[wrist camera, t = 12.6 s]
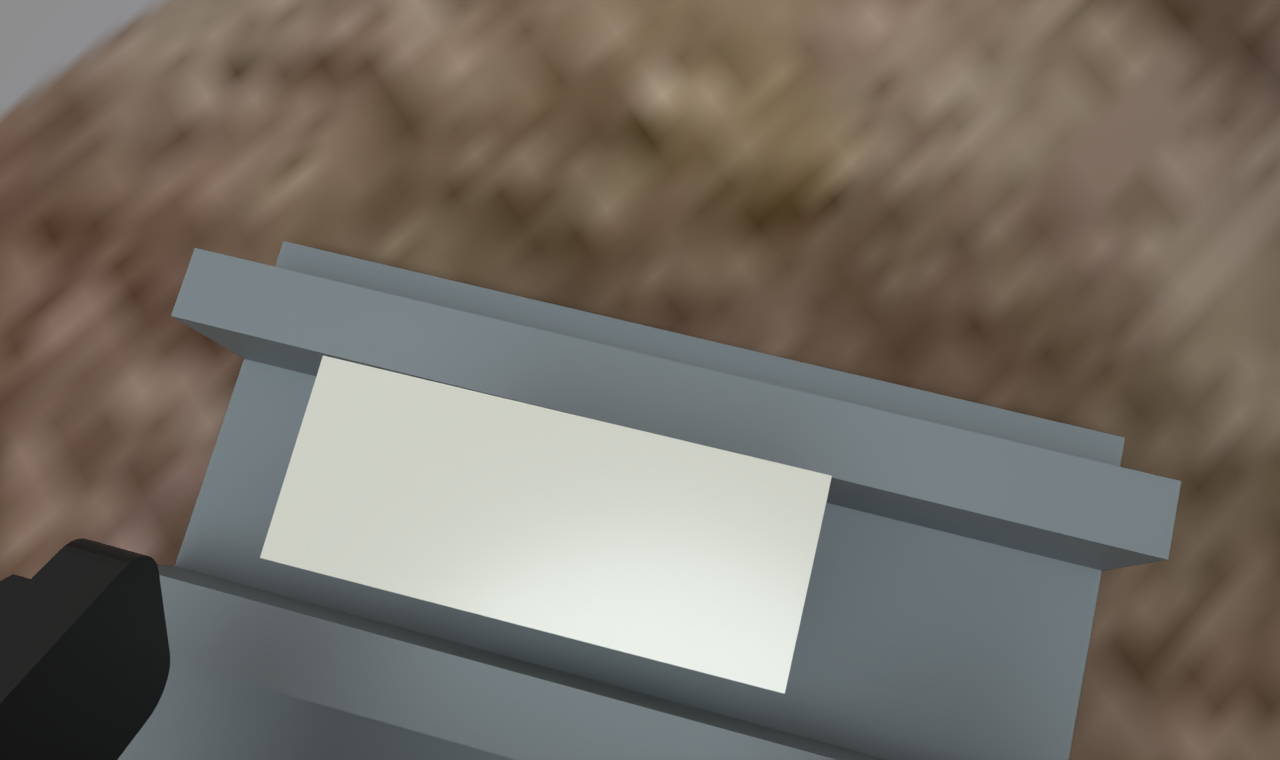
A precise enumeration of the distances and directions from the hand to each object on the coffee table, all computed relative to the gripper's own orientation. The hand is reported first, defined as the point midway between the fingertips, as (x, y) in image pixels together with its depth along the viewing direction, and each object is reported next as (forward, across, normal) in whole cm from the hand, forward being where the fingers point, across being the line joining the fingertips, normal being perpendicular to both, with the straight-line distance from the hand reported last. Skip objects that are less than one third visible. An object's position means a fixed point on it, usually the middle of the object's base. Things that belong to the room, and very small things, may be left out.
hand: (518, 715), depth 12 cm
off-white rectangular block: (+8, 0, +5) cm, 9 cm away
